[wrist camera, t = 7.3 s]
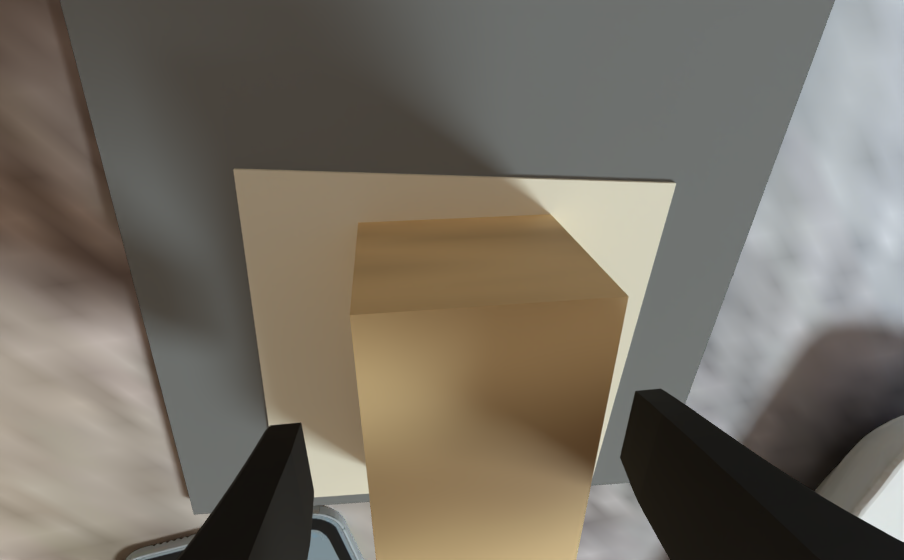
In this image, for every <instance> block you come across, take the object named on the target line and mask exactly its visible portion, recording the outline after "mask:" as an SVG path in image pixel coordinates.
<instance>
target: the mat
mask: <svg viewBox="0 0 904 560" xmlns="http://www.w3.org/2000/svg"><path fill="white" fill-rule="evenodd" d="M834 1H835V0H60V3H61V7H62V11H63V15H64V18H65V22H66V26H67V30H68V34H69V37H70V41H71V45H72V49H73V53H74V57H75V60H76V64H77V68H78V72H79V76H80V80H81V83H82V87H83V91H84V95H85V99H86V103H87V106H88V110H89V114H90V118H91V122H92V126H93V129H94V133H95V137H96V141H97V145H98V149H99V152H100V156H101V160H102V164H103V168H104V172H105V175H106V179H107V183H108V187H109V191H110V195H111V198H112V202H113V206H114V210H115V214H116V218H117V221H118V225H119V229H120V233H121V237H122V241H123V244H124V248H125V252H126V256H127V260H128V264H129V267H130V271H131V275H132V279H133V283H134V287H135V290H136V294H137V298H138V302H139V306H140V310H141V313H142V317H143V321H144V325H145V329H146V333H147V336H148V340H149V344H150V348H151V352H152V356H153V359H154V363H155V367H156V371H157V375H158V379H159V382H160V386H161V390H162V394H163V398H164V402H165V405H166V409H167V413H168V417H169V421H170V425H171V428H172V432H173V436H174V440H175V444H176V448H177V451H178V455H179V459H180V463H181V467H182V471H183V474H184V478H185V482H186V486H187V490H188V494H189V497H190V501H191V505H192V509H193V513H194V515H195V514H208V513H212V511H213V510H214V508H215V507H216V506H217V504H218V503H219V501H220V500H221V498H222V497H223V496H224V494H225V493H226V491H227V490H228V488H229V487H230V485H231V484H232V482H233V481H234V479H235V478H236V476H237V475H238V473H239V472H240V470H241V469H242V467H243V466H244V464H245V463H246V461H247V459H248V458H249V456H250V455H251V453H252V451H253V450H254V448H255V447H256V445H257V443H258V442H259V440H260V438H261V437H262V435H263V433H264V432H265V430H266V429H267V428H268V427H269V426H270V425H279V424H290V423H300V422H301V423H302V429H303V434H304V440H305V445H306V450H307V456H308V461H309V466H310V472H311V477H312V482H313V488H314V502H313V506H318V505H332V504H345V503H359V502H370V498H369V489H368V480H367V470H366V461H365V452H364V443H363V434H362V425H361V415H360V406H359V397H358V388H357V379H356V369H355V360H354V351H353V342H352V333H351V323H350V306H351V295H352V284H353V273H354V263H355V252H356V241H357V230H358V223H361V222H384V221H407V220H430V219H453V218H476V217H499V216H521V215H544V214H551V215H552V216H553V217H554V218H555V219H556V220H557V221H558V222H559V223H560V224H561V225H562V226H563V228H564V229H565V230H566V231H567V232H568V233H569V234H570V235H571V236H572V237H573V238H574V239H575V240H576V241H577V242H578V243H579V244H580V245H581V247H582V248H583V249H584V250H585V251H586V252H587V253H588V254H589V255H590V256H591V257H592V258H593V259H594V260H595V261H596V262H597V263H598V264H599V266H600V267H601V268H602V269H603V270H604V271H605V272H606V273H607V274H608V275H609V276H610V277H611V278H612V279H613V280H614V281H615V282H616V283H617V285H618V286H619V287H620V288H621V289H622V290H623V291H624V292H625V293H626V294H627V295H628V296H629V298H628V303H627V308H626V313H625V318H624V323H623V328H622V333H621V338H620V343H619V348H618V353H617V358H616V363H615V368H614V373H613V378H612V383H611V388H610V393H609V398H608V402H607V407H606V412H605V417H604V422H603V427H602V432H601V437H600V442H599V447H598V452H597V457H596V462H595V467H594V472H593V477H592V482H591V486H592V485H606V484H619V483H630V482H629V479H628V477H627V474H626V472H625V469H624V467H623V464H622V461H621V459H620V455H621V450H622V446H623V442H624V437H625V433H626V429H627V424H628V420H629V416H630V411H631V407H632V403H633V398H634V394H635V391H640V390H650V389H663V390H664V391H666V392H667V393H669V394H670V395H672V396H673V397H675V398H676V399H678V400H679V401H681V402H682V403H684V404H685V402H686V400H687V397H688V394H689V392H690V389H691V386H692V383H693V381H694V378H695V375H696V373H697V370H698V367H699V365H700V362H701V359H702V357H703V354H704V351H705V348H706V346H707V343H708V340H709V338H710V335H711V332H712V330H713V327H714V324H715V322H716V319H717V316H718V313H719V311H720V308H721V305H722V303H723V300H724V297H725V295H726V292H727V289H728V287H729V284H730V281H731V279H732V276H733V273H734V270H735V268H736V265H737V262H738V260H739V257H740V254H741V252H742V249H743V246H744V244H745V241H746V238H747V235H748V233H749V230H750V227H751V225H752V222H753V219H754V217H755V214H756V211H757V209H758V206H759V203H760V201H761V198H762V195H763V192H764V190H765V187H766V184H767V182H768V179H769V176H770V174H771V171H772V168H773V166H774V163H775V160H776V157H777V155H778V152H779V149H780V147H781V144H782V141H783V139H784V136H785V133H786V131H787V128H788V125H789V122H790V120H791V117H792V114H793V112H794V109H795V106H796V104H797V101H798V98H799V96H800V93H801V90H802V88H803V85H804V82H805V79H806V77H807V74H808V71H809V69H810V66H811V63H812V61H813V58H814V55H815V53H816V50H817V47H818V44H819V42H820V39H821V36H822V34H823V31H824V28H825V26H826V23H827V20H828V18H829V15H830V12H831V10H832V7H833V4H834Z"/></svg>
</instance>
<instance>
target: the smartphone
mask: <svg viewBox="0 0 904 560" xmlns="http://www.w3.org/2000/svg"><path fill="white" fill-rule="evenodd" d="M195 535H196V534H194V535H190V536H189V537H188V538H187V537H183V538H182V539H180V538H178V539H176V540H175V541H173V540H170V541H169V542H168V543H167V542H163V543H162V544H156V545H155V546H153V545H151V546H147V547H143V548H140V549H138V550H136V551H134V552H132V553H131V554H130V555H129V556H128V557H127V558H126V560H177V558H178V557H179V556H180V554H181V553H182V552H183V551H184V549H185V548H186V547H187V545H188V544H189V543H190V541H191V540H192V539H193V537H194V536H195ZM307 560H364V559H363V557H362V555H361V552H360V550H359V548H358V546H357V544H356V542H355V540H354V538H353V536H352V534H351V532H350V530H349V528H348V525H347V523H346V521H345V519H344V518H343V516H342V515H341V514H340V513H339V512H337V511H336V510H334V509H331V508H328V507H324V506H313V516H312V529H311V541H310V548H309V553H308V559H307Z"/></svg>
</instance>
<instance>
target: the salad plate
mask: <svg viewBox="0 0 904 560" xmlns="http://www.w3.org/2000/svg"><path fill="white" fill-rule="evenodd" d="M814 492H816V493H817V494H819V495H821V496H822V497H824V498H826V499H827V500H829V501H831V502H832V503H834V504H836V505H837V506H839V507H841V508H842V509H844V510H846V511H848V512H850V513H851V514H853V515H855V516H857V517H858V518H860V519H862V520H864V521H866V522H867V523H869V524H871V525H873V526H875V527H876V528H878V529H880V530H882V531H884V532H885V533H887V534H889V535H891V536H893V537H895V538H896V539H898V540H900V541H902V542H904V415H903V416H900V417H897V418H895V419H892V420H891V421H889V422H887V423H885V424H883V425H881V426H879V427H877V428H876V429H874V430H873V431H871V432H870V433H869V434H867V435H866V436H865V437H864V438H862V439H861V440H860V441H859V442H858V443H857V444H856V445H855V446H854V447H853V448H852V450H851V451H850V452H849V453H848V454H847V455H846V456H845V457H844V459H843V460H842V461H841V462H840V464H839V465H837V466H836V467H835V468H834V469H833V470H832V471H831V472H830V474H829V475H828V476H827V477H826V478H825V479H824V480H823V482H822V483H821V484H820V485H819V486H818V488H817V489H816V490H815V491H814Z"/></svg>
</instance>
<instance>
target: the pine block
mask: <svg viewBox="0 0 904 560" xmlns="http://www.w3.org/2000/svg"><path fill="white" fill-rule="evenodd" d="M628 298H629V296H628V295H627V294H626V293H625V292H624V291H623V290H622V289H621V288H620V287H619V286H618V285H617V283H616V282H615V281H614V280H613V279H612V278H611V277H610V276H609V275H608V274H607V273H606V272H605V271H604V270H603V269H602V268H601V267H600V266H599V264H598V263H597V262H596V261H595V260H594V259H593V258H592V257H591V256H590V255H589V254H588V253H587V252H586V251H585V250H584V249H583V248H582V247H581V245H580V244H579V243H578V242H577V241H576V240H575V239H574V238H573V237H572V236H571V235H570V234H569V233H568V232H567V231H566V230H565V229H564V228H563V226H562V225H561V224H560V223H559V222H558V221H557V220H556V219H555V218H554V217H553V216H552V215H551V214H544V215H521V216H499V217H476V218H453V219H430V220H407V221H384V222H361V223H358V230H357V241H356V252H355V263H354V273H353V284H352V295H351V306H350V323H351V333H352V342H353V351H354V360H355V369H356V379H357V388H358V397H359V406H360V415H361V425H362V434H363V443H364V452H365V461H366V470H367V480H368V489H369V498H370V507H371V516H372V526H373V535H374V544H375V553H376V560H576V557H577V552H578V547H579V542H580V537H581V532H582V527H583V522H584V517H585V512H586V507H587V502H588V497H589V492H590V487H591V482H592V477H593V472H594V467H595V462H596V457H597V452H598V447H599V442H600V437H601V432H602V427H603V422H604V417H605V412H606V407H607V402H608V398H609V393H610V388H611V383H612V378H613V373H614V368H615V363H616V358H617V353H618V348H619V343H620V338H621V333H622V328H623V323H624V318H625V313H626V308H627V303H628Z"/></svg>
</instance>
